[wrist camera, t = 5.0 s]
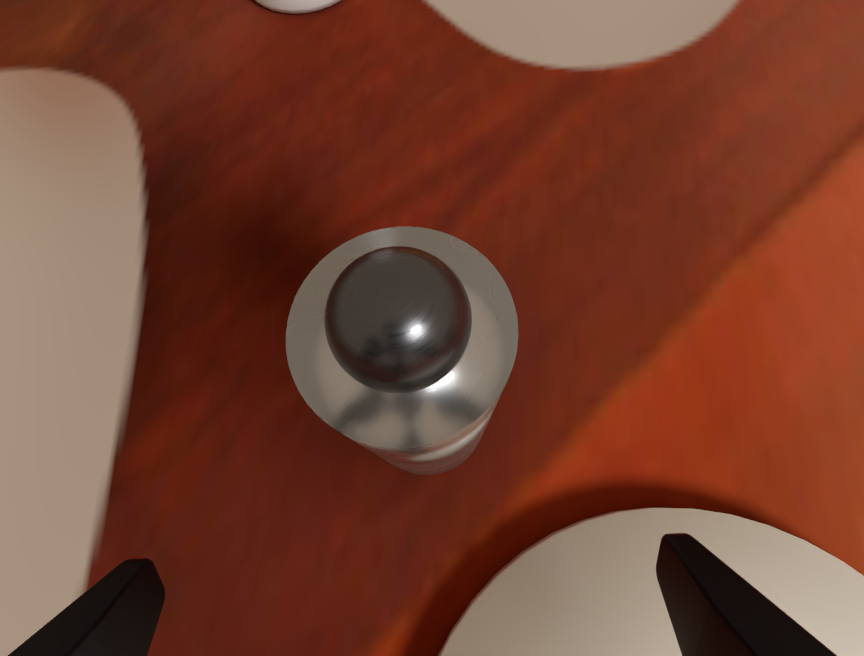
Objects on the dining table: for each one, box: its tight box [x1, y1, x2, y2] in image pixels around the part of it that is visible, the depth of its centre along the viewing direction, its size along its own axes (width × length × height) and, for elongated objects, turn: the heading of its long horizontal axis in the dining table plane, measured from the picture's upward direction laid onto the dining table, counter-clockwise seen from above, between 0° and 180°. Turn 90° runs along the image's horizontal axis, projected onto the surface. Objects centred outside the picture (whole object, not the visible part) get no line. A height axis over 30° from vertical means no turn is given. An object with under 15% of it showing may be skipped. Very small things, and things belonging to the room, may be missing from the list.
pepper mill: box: [286, 227, 518, 475], centre depth 15 cm, size 5×5×13 cm
